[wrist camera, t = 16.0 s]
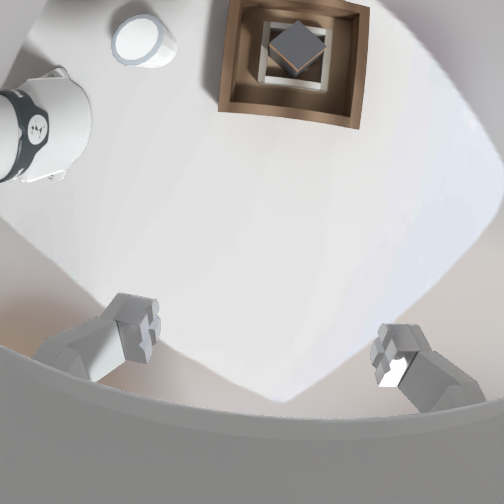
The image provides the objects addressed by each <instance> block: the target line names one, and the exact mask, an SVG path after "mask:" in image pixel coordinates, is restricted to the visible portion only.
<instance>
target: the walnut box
mask: <svg viewBox="0 0 504 504" xmlns="http://www.w3.org/2000/svg"><path fill="white" fill-rule="evenodd" d="M369 17H370V7H366V6H362V5H358V4H354V3H350V2H346V1H341V0H230V3H229V10H228V18H227V26H226V35H225V43H224V53H223V62H222V72H221V82H220V93H219V104H218V112H231V113H245V114H256V115H267V116H276V117H284V118H292V119H300V120H307V121H313V122H320V123H326V124H331V125H337V126H342V127H348V128H353V129H358V130H359V127H360V119H361V112H362V103H363V95H364V85H365V75H366V64H367V52H368V37H369ZM298 20H299V21H300V22H301V23H302V24H303V25H304V26H306V27H307V28H308V29H309V30H310V31H311V32H312V33H313V34H314V35H315V36H316V37H318V38H319V39H320V40H321V41H322V42H323V43H324V44H325V45H326V46H327V48H326V49H325V50H324V51H323V53H322V54H321V55H320V56H319V58H318V59H317V60H316V61H315V62H314V63H313V64H311V65H310V66H309V67H308V68H307V69H305V70H304V71H303V72H302V73H301V74H299V75H298V76H297V77H296V78H295V79H292V78H291V77H290V76H289V75H288V74H287V73H286V72H285V71H284V70H283V69H282V68H281V67H280V66H279V65H278V64H277V63H275V62H274V61H273V60H272V59H271V58H270V47H269V43H270V42H271V41H272V40H274V39H275V38H276V37H277V36H278V35H280V34H281V33H282V32H283V31H285V30H286V29H287V28H288V27H290V26H291V25H292V24H294V23H295V22H296V21H298Z"/></svg>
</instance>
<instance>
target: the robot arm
mask: <svg viewBox="0 0 504 504" xmlns="http://www.w3.org/2000/svg"><path fill="white" fill-rule="evenodd" d="M53 76H54V77H53ZM90 131H91V109H90V104H89V101H88V98H87V96H86V94H85V93H84V91H83V90H82V89H81V88H80V87H79V86H78V85H77V84H75V83H74V82H72V81H71V80H70V79H69V76H68V74H67V72H66V71H65V69H64V68H56V69H54V70H52V71H50V72H48V73H46V74H44V75H42V76H41V77H39V78H31V79H27V80H26V82H24V83H22V84H21V85H19V86H18V87H17V88H15V89H14V90H12V89H7V90H3V91H0V183H2V182H6V181H10V180H17V179H20V181H21V182H24V181H27V182H32V181H35V180H38V179H45V180H49V181H52V182H60V181H62V180H63V179H64V177H65V175H66V173H67V170H68V168H69V167H70V165H71V164H72V163H73V162H75V161H76V160H77V159H78V157H79V156H80V155H81V154H82V152H83V150H84V149H85V147H86V144H87V142H88V139H89V135H90ZM158 311H159V303H158V301H157V299H152V298H147V297H142V296H137V295H131V294H126V293H118V294H117V295H116V296H115V297H114V299H113V300H112V301H111V303H110V304H109V305H108V307H107V308H106V309H105V311H104V312H103V313H102V315H101V316H100V317H94V318H92V319H90V320H88V321H85V322H83V323H81V324H78V325H76V326H74V327H71V328H69V329H67V330H65V331H63V332H60V333H58V334H56V335H53V336H51V337H49V338H47V339H45V341H44V342H43V343H42V345H41V346H40V347H39V348H38V350H37V351H36V352H35V354H34V355H33V356H32V358H29V357H27V356H24V355H22V354H20V353H18V352H15V351H13V350H11V349H9V348H7V347H5V346H2V345H1V344H0V504H504V398H499V399H495V400H492V401H486V398H485V397H484V394H483V392H482V390H481V388H480V386H479V384H478V383H477V381H476V380H474V379H473V378H472V377H470V376H469V375H468V374H466V373H465V372H464V371H462V370H461V369H460V368H458V367H457V366H455V365H454V364H453V363H451V362H450V361H449V360H447V359H446V358H444V357H443V356H442V355H440V354H439V353H438V352H436V351H432V349H431V347H430V345H429V343H428V341H427V339H426V338H425V336H424V334H423V332H422V331H421V328H420V326H419V325H417V324H382V325H381V326H380V327H379V330H378V334H379V337H378V338H377V339H376V340H374V342H373V344H372V347H371V352H370V358H371V363H372V365H373V366H374V367H375V368H376V371H375V376H376V380H377V384H378V386H380V387H382V386H384V387H385V386H398V388H399V389H400V390H401V391H402V392H403V394H404V395H405V396H406V397H407V398H408V399H409V400H410V401H411V402H412V403H413V404H414V406H415V407H416V408H417V409H418V410H419V411H420V412H421V413H418V414H409V415H399V416H389V417H388V416H387V417H372V418H342V419H340V418H339V419H338V418H337V419H336V418H335V419H330V418H329V419H328V418H323V419H322V418H293V417H276V416H264V415H253V414H244V413H235V412H227V411H220V410H213V409H206V408H201V407H195V406H189V405H184V404H179V403H173V402H169V401H164V400H159V399H155V398H151V397H147V396H142V395H139V394H135V393H131V392H127V391H123V390H119V389H116V388H113V387H109V386H106V385H103V384H99V383H96V381H98V380H99V379H100V378H102V377H103V376H105V375H106V374H108V373H109V372H110V371H112V370H113V369H115V368H116V367H117V366H119V365H120V364H122V363H123V362H125V360H130V361H135V362H140V363H145V364H147V363H148V361H149V358H150V356H151V354H152V352H153V349H152V345H154V344H156V343H157V341H158V339H159V335H160V331H161V321H160V318H159V317H158V315H157V312H158Z"/></svg>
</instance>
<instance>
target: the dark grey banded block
mask: <svg viewBox="0 0 504 504" xmlns="http://www.w3.org/2000/svg"><path fill="white" fill-rule="evenodd" d="M269 47H270V58H271V59H272V60H273V61H274V62H275V63H277V64H278V65H279V66H280V67H281V68H282V69H283V70H284V71H285V72H286V73H287V74H288V75H289V76H290V77H291V78H292V79H295V78H296V77H297V76H298V75H299V74H301V73H302V72H303V71H304V70H305V69H307V68H308V67H309V66H310V65H311V64H313V63H314V62H315V61H316V60H317V59H318V58H319V56H320V55H321V54H322V53H323V51H324V50H325V49H326V48H327V46H326V45H325V44H324V43H323V42H322V41H321V40H320V39H319V38H318V37H316V36H315V35H314V34H313V33H312V32H311V31H310V30H309V29H308V28H307V27H306V26H304V25H303V24H302V23H301V22H300V21H299V20H298V21H296V22H295V23H294V24H292V25H291V26H290V27H288V28H287V29H286V30H285V31H283V32H282V33H281V34H280V35H278V36H277V37H276V38H275V39H274V40H272V41H271V42H270V43H269Z"/></svg>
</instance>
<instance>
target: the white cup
mask: <svg viewBox="0 0 504 504" xmlns="http://www.w3.org/2000/svg"><path fill="white" fill-rule="evenodd" d="M111 49H112V54H113V56H114V57H115V59H116V60H117V61H118V62H119V63H121V64H124V65H126V66H138V67H150V68H158V67H161V66H164V65H166V64H167V63H168V62H170V61H171V60H172V58H173V57H174V55H175V54H176V50H177V42H176V39H175V37H174V36H173V35H172V34H171V33H170V32H169V31H168V29H167V28H166V27H165V26H164V25H163V24H162V23H161V22H160V21H159V20H158V19H157V17H154V16H152V15H149V14H140V15H135V16H133V17H131V18H129V19H127V20H126V21H125V22H123V23H122V24H121V25H120V26H119V27H118V29H117V30H116V32H115V34H114V35H113V39H112V43H111Z"/></svg>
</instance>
